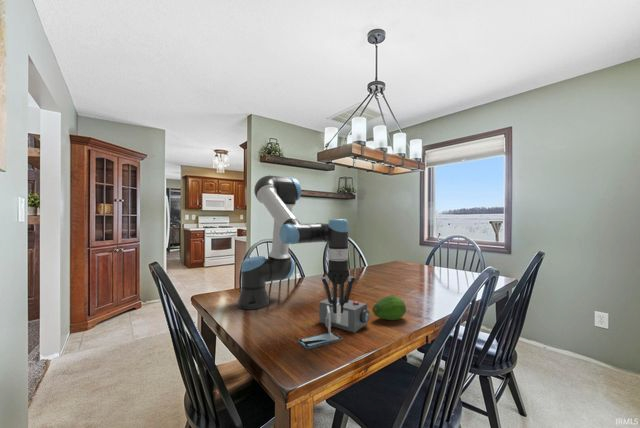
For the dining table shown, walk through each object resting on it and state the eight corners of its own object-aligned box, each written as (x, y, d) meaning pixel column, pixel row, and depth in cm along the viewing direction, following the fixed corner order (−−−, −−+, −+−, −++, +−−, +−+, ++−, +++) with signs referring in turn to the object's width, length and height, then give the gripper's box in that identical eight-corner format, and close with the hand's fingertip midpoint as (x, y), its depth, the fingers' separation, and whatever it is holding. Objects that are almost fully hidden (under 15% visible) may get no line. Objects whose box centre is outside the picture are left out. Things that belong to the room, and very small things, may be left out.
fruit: (378, 326, 113) (378, 301, 114) (367, 317, 123) (367, 294, 123) (411, 322, 118) (411, 298, 118) (398, 314, 127) (398, 292, 127)
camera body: (319, 322, 117) (319, 300, 117) (332, 315, 125) (332, 294, 125) (359, 333, 106) (359, 309, 106) (371, 325, 114) (371, 302, 114)
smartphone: (343, 338, 101) (307, 347, 93) (343, 341, 101) (307, 350, 93) (332, 331, 107) (297, 339, 99) (332, 334, 107) (296, 342, 99)
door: (324, 323, 114) (324, 305, 114) (328, 323, 114) (328, 305, 114) (325, 333, 104) (326, 313, 104) (331, 333, 104) (331, 313, 104)
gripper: (322, 261, 102) (322, 326, 102) (357, 260, 104) (357, 324, 104) (319, 258, 110) (319, 318, 110) (352, 257, 112) (352, 317, 111)
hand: (338, 321), depth 107 cm, fingers closed
